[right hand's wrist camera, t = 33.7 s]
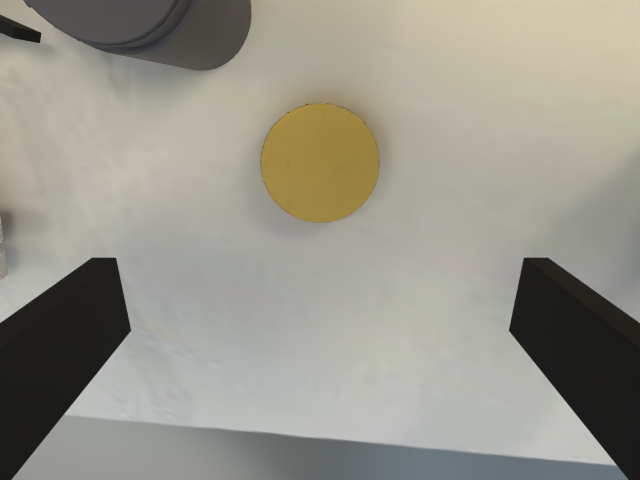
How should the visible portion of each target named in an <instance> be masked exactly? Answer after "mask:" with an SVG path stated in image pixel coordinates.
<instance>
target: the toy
mask: <svg viewBox="0 0 640 480" xmlns="http://www.w3.org/2000/svg"><path fill="white" fill-rule="evenodd" d="M1 242H3V232H2V224H1V216H0V243H1ZM6 275H8V273H7V265H6V257H5V250H0V280H1V279H2V278H3V277H5V276H6Z"/></svg>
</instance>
